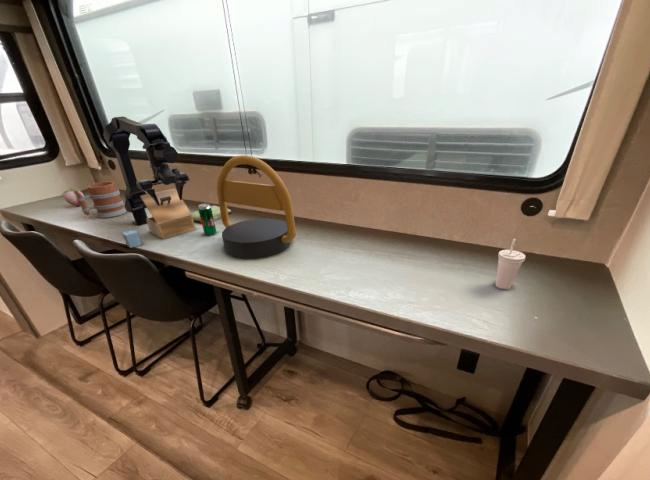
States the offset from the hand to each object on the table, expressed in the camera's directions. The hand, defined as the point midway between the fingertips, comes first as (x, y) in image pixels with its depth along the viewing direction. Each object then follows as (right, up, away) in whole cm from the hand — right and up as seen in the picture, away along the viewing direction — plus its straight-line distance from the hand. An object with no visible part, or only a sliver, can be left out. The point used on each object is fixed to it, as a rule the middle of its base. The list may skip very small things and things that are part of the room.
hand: (170, 202), depth 134 cm
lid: (-3, 0, +4) cm, 5 cm away
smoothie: (+112, -36, -41) cm, 125 cm away
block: (-14, -17, -2) cm, 22 cm away
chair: (+37, -19, -8) cm, 42 cm away
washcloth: (+8, 0, +24) cm, 26 cm away
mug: (-48, +3, +34) cm, 59 cm away
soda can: (+15, -12, +5) cm, 20 cm away
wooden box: (-3, -9, +10) cm, 14 cm away
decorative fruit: (-75, +13, +52) cm, 93 cm away
